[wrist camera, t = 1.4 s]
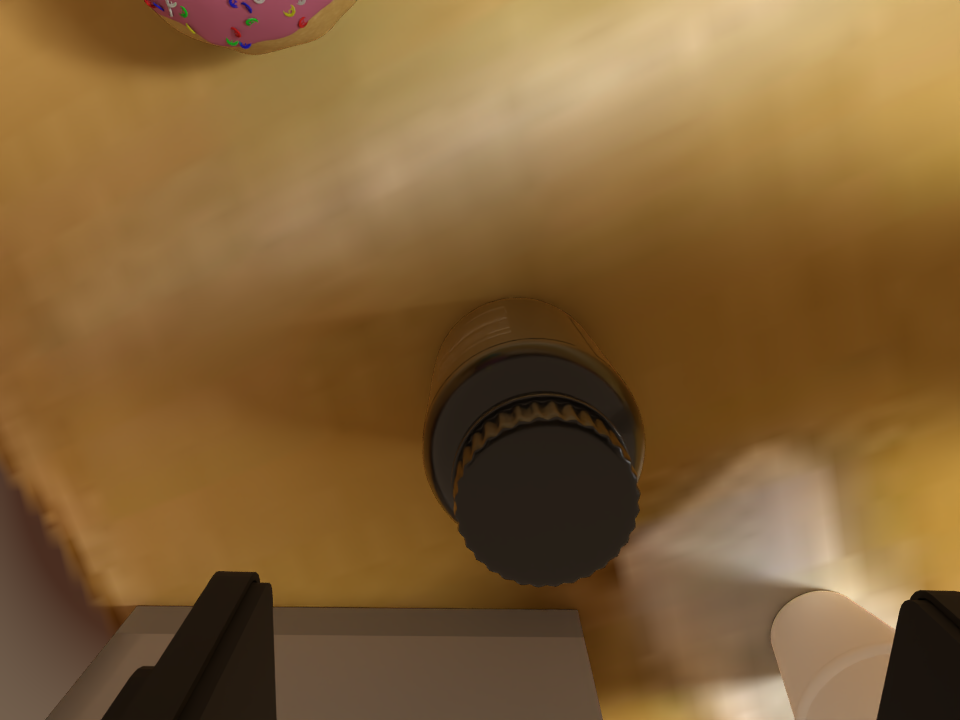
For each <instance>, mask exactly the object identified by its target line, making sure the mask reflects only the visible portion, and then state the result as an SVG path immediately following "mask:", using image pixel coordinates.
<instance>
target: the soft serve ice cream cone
mask: <svg viewBox="0 0 960 720" xmlns="http://www.w3.org/2000/svg"><path fill="white" fill-rule="evenodd" d="M894 635H895V629H894V628H892V627H891V626H889V625H888V624H886V623H885V622H883V621H882V620H880V619H879V618H877V617H876V616H875V615H873V614H872V613H870V612H869V611H867V610H866V609H864V608H863V607H861V606H860V605H858V604H857V603H855V602H854V601H852V600H851V599H850V598H848V597H847V596H844V595H842V594H840V593H836V592H831V591H814V592H808V593H805V594H802V595H800V596H798V597H796V598H794V599H792V600H791V601H790V602H788V603H787V604H786V605H785V606H784V607H783V608H782V609H781V610H780V611H779V613H778V614H777V616H776V618H775V620H774V622H773V625H772V629H771V644H772V648H773V651H774V654H775V657H776V660H777V663H778V667H779V670H780V673H781V676H782V679H783V682H784V686H785V689H786V692H787V695H788V698H789V702H790V705H791V708H792V711H793V714H794V717H795V720H876V719H877V715H878V710H879V705H880V701H881V696H882V691H883V687H884V682H885V677H886V672H887V668H888V663H889V658H890V654H891V649H892V644H893V640H894Z"/></svg>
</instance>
